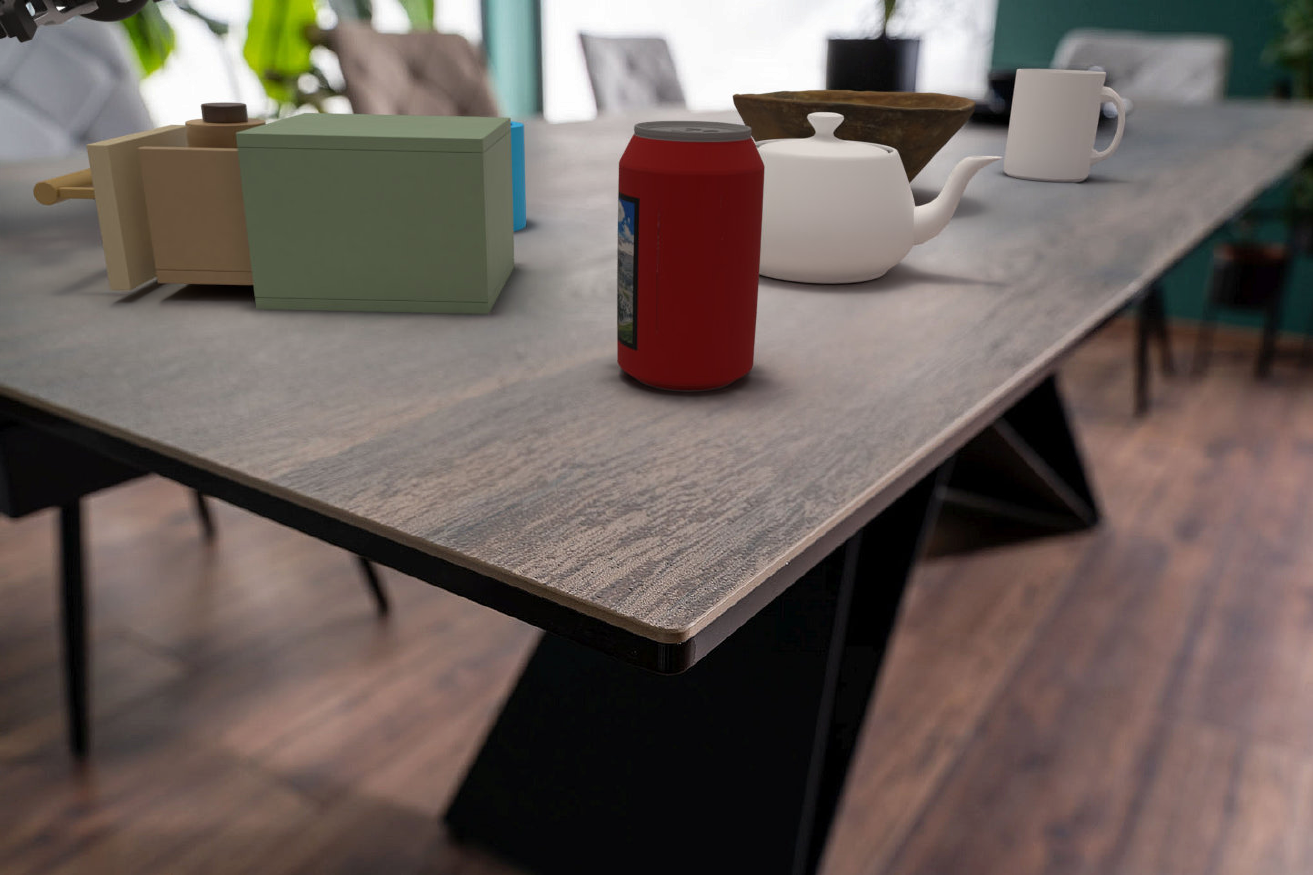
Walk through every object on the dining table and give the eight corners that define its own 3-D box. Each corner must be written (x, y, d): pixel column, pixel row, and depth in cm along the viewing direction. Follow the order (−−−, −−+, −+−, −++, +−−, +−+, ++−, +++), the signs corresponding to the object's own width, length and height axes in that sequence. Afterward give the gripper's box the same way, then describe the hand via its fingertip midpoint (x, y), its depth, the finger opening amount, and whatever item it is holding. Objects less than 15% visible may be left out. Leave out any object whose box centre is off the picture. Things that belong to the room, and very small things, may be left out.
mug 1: (541, 232, 87) (539, 127, 84) (442, 239, 84) (437, 130, 81) (492, 208, 97) (489, 114, 94) (402, 213, 94) (396, 116, 91)
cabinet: (256, 311, 63) (235, 132, 59) (318, 264, 75) (304, 112, 71) (488, 316, 63) (482, 138, 59) (514, 268, 75) (510, 117, 71)
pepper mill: (190, 258, 67) (169, 106, 63) (218, 243, 71) (200, 100, 68) (265, 259, 67) (248, 108, 63) (288, 244, 71) (274, 102, 68)
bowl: (867, 180, 120) (876, 85, 116) (1010, 214, 100) (1026, 102, 97) (690, 188, 111) (694, 86, 107) (809, 227, 92) (818, 105, 88)
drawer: (29, 288, 63) (1, 142, 60) (119, 248, 74) (98, 123, 71) (323, 294, 63) (310, 149, 60) (371, 254, 74) (361, 129, 71)
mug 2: (994, 170, 129) (1008, 68, 125) (1097, 174, 128) (1114, 71, 124) (1012, 182, 121) (1027, 72, 116) (1122, 186, 120) (1142, 75, 115)
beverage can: (653, 350, 58) (658, 116, 53) (772, 369, 55) (788, 125, 50) (591, 385, 52) (591, 127, 47) (721, 409, 49) (733, 137, 45)
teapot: (649, 280, 72) (652, 113, 68) (693, 242, 85) (698, 99, 81) (988, 308, 68) (1013, 130, 64) (982, 263, 80) (1003, 112, 76)
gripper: (-26, -70, 77) (-67, -23, 65) (171, -125, 79) (168, -90, 67) (32, 34, 82) (4, 97, 69) (216, -21, 84) (221, 30, 72)
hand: (84, 5), depth 68 cm, fingers open, 8 cm apart
